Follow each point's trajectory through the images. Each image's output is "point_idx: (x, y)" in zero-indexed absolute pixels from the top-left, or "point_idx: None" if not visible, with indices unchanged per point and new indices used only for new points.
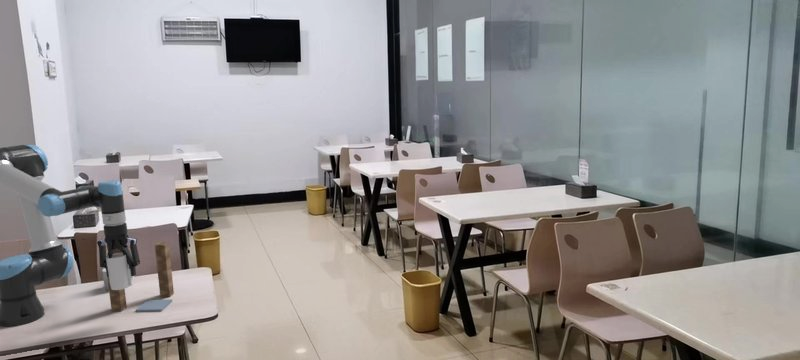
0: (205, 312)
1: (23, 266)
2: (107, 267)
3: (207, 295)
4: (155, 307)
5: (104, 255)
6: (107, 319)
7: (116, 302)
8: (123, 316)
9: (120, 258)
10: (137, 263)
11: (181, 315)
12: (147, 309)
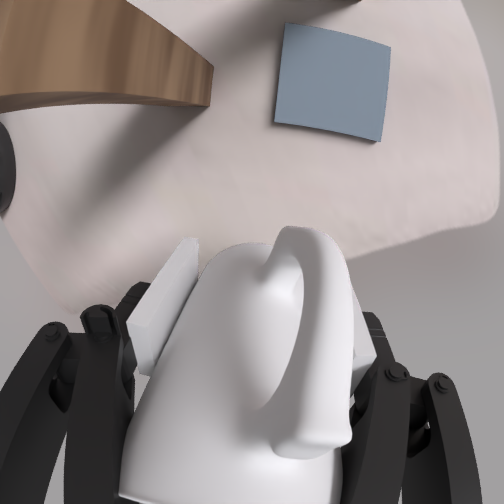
0: (489, 197)
1: None
2: (128, 382)
3: (476, 49)
4: (352, 114)
5: (37, 445)
6: (189, 183)
7: (180, 104)
8: (239, 162)
9: None
10: (426, 420)
11: (440, 201)
12: (325, 128)
